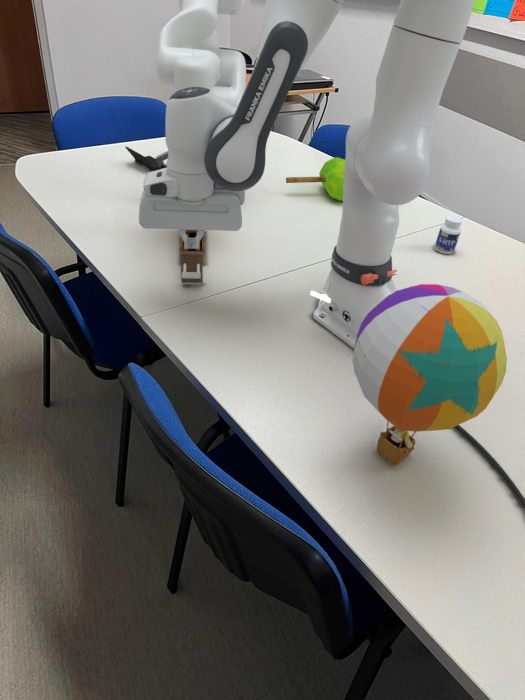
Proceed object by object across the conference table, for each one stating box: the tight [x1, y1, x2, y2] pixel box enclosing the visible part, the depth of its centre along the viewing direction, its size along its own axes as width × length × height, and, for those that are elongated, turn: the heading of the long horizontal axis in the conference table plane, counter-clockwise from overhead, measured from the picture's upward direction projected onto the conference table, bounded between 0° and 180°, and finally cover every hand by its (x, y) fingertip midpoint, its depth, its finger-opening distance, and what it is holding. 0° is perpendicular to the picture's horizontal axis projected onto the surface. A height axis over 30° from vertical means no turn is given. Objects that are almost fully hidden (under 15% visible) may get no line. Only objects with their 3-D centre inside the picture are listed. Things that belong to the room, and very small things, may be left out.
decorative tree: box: [285, 156, 345, 202], centre depth 161 cm, size 18×10×30 cm
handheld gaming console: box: [125, 146, 167, 172], centre depth 171 cm, size 12×7×10 cm
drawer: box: [180, 232, 204, 284], centre depth 118 cm, size 22×5×7 cm, turn 5°
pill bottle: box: [434, 215, 463, 255], centre depth 137 cm, size 5×5×9 cm
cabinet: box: [179, 230, 206, 266], centre depth 128 cm, size 18×6×9 cm, turn 5°
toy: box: [352, 283, 508, 467], centre depth 73 cm, size 20×20×30 cm
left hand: (193, 192), depth 128 cm, fingers open, 9 cm apart
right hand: (191, 247), depth 107 cm, fingers closed
